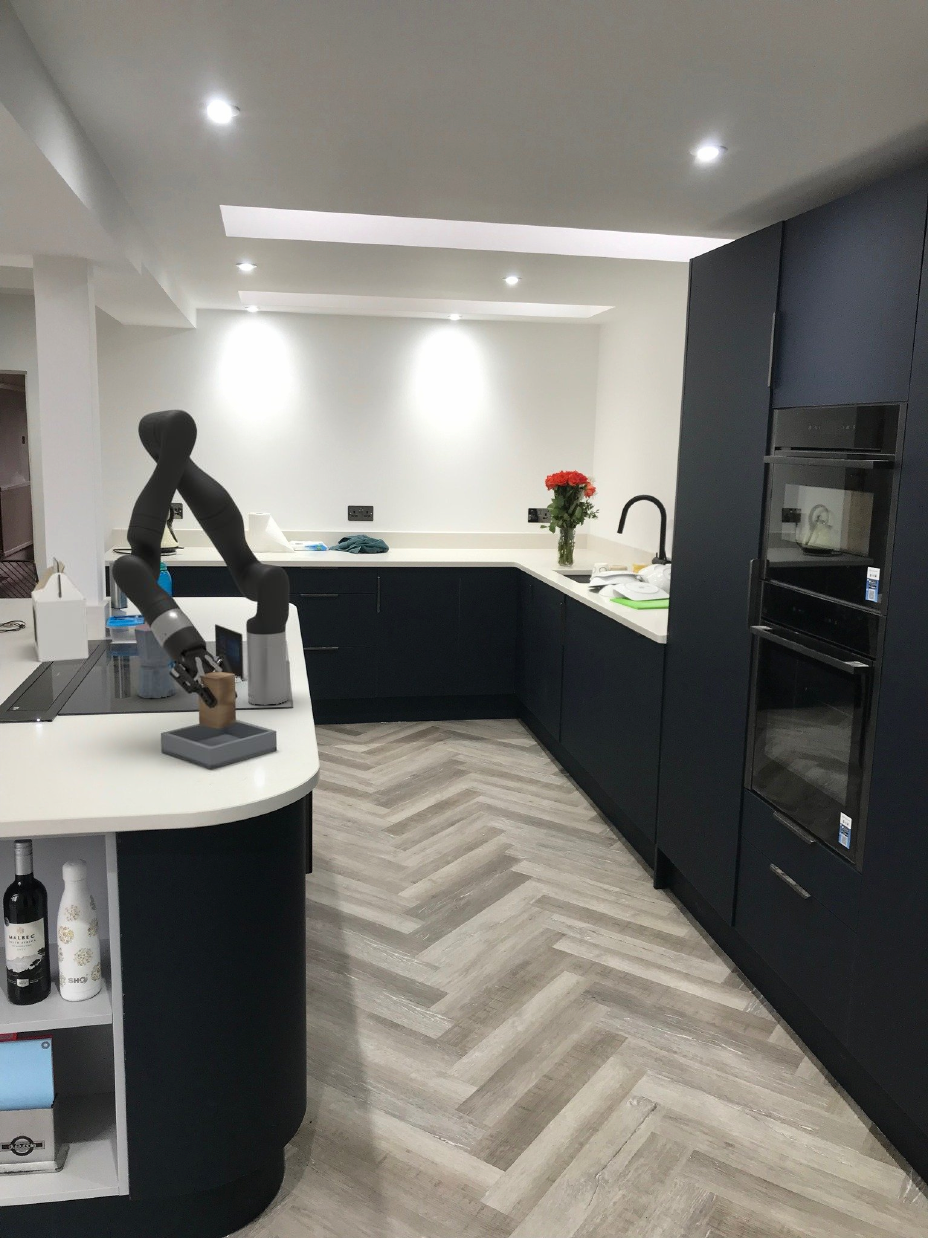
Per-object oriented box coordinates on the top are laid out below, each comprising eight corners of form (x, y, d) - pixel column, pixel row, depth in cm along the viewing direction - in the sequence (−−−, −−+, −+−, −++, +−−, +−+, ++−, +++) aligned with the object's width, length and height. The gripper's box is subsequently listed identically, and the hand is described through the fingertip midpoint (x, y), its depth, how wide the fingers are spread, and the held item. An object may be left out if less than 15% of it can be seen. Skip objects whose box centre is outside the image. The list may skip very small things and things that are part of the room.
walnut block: (217, 719, 192) (216, 671, 190) (235, 723, 190) (235, 674, 188) (199, 724, 188) (198, 675, 186) (218, 728, 185) (217, 678, 184)
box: (227, 735, 201) (226, 716, 200) (276, 750, 191) (276, 731, 190) (161, 752, 189) (160, 733, 188) (210, 769, 179) (209, 749, 178)
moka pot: (148, 703, 226) (144, 621, 222) (124, 691, 237) (120, 612, 234) (186, 697, 232) (183, 617, 228) (161, 685, 243) (158, 608, 240)
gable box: (88, 658, 275) (83, 562, 270) (39, 662, 269) (32, 564, 264) (81, 645, 294) (76, 555, 290) (34, 648, 288) (29, 556, 284)
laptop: (173, 675, 256) (171, 628, 254) (217, 669, 264) (216, 623, 262) (198, 688, 242) (196, 638, 240) (244, 682, 250) (243, 633, 247)
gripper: (160, 629, 183) (208, 698, 179) (213, 620, 195) (259, 684, 192) (141, 653, 186) (188, 721, 183) (194, 642, 199) (239, 706, 195)
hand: (224, 702), depth 187 cm, fingers closed on walnut block, 5 cm apart
